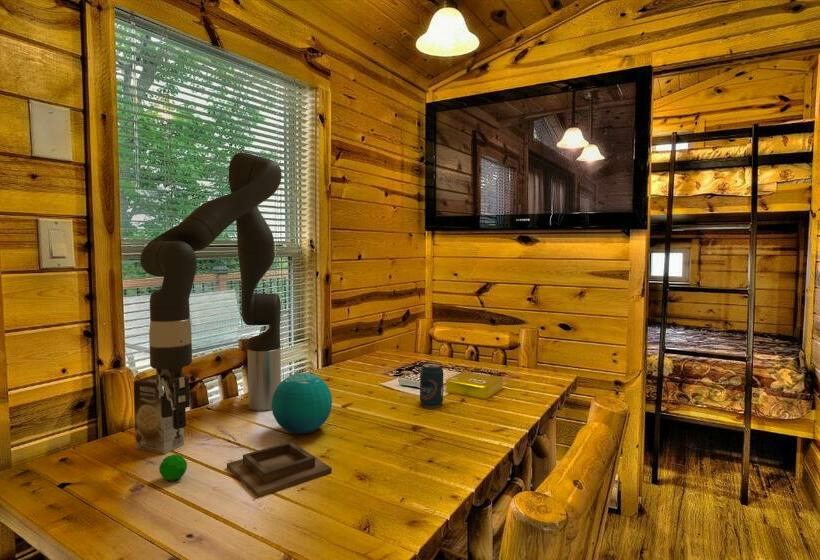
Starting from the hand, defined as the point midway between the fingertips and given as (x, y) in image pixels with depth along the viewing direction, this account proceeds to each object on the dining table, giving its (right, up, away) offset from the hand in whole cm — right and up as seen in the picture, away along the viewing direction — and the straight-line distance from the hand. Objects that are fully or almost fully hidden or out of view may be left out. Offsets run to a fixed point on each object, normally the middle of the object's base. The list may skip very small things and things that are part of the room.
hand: (173, 422), depth 97 cm
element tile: (+69, -9, +63) cm, 94 cm away
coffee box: (-11, -11, +17) cm, 23 cm away
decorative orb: (+20, -10, +26) cm, 35 cm away
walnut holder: (+20, -12, +5) cm, 24 cm away
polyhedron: (0, -12, +1) cm, 12 cm away
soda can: (+54, -9, +48) cm, 73 cm away
